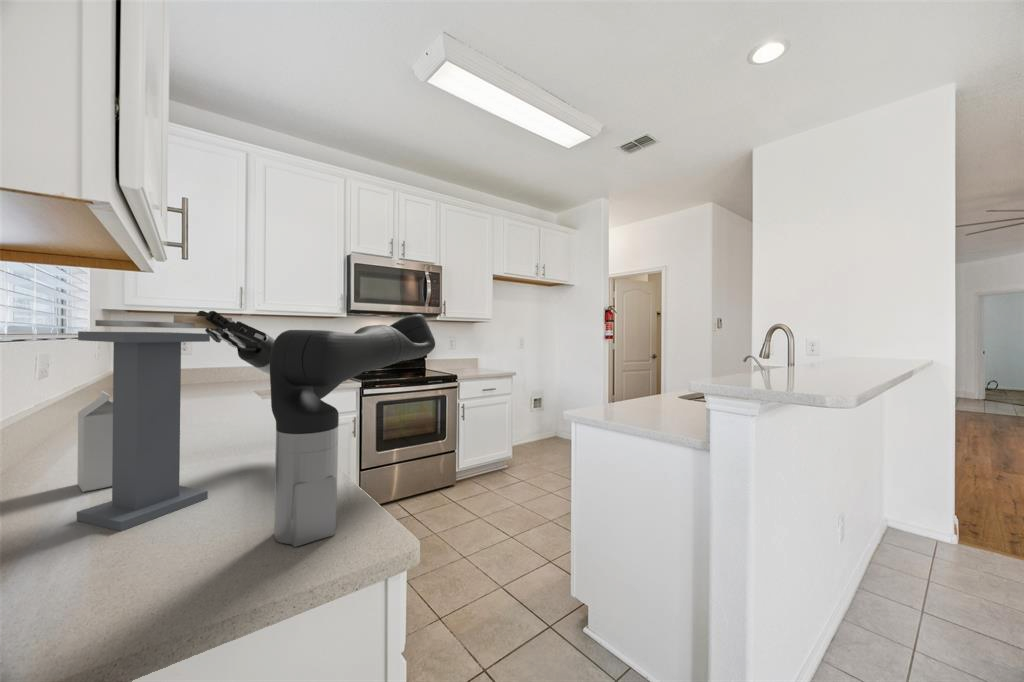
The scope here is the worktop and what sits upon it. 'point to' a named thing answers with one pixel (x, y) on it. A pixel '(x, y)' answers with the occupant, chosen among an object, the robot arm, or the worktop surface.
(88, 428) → the milk carton
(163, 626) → the worktop surface
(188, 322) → the trowel
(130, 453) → the stand
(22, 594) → the worktop surface
